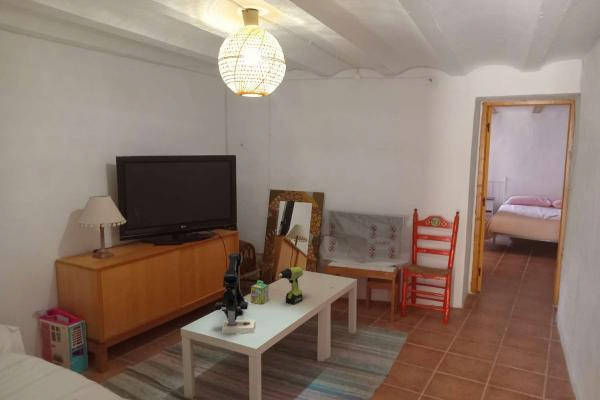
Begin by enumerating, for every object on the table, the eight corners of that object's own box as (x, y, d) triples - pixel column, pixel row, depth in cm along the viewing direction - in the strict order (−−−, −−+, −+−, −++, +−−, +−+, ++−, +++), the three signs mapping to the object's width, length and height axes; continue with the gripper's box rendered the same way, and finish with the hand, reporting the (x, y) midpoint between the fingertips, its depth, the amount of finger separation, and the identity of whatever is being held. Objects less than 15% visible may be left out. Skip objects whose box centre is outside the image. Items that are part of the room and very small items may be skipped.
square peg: (229, 322, 260) (228, 309, 259) (236, 322, 260) (235, 309, 259) (228, 325, 256) (227, 312, 255) (235, 325, 256) (234, 312, 255)
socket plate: (225, 325, 265) (225, 320, 264) (255, 324, 265) (255, 319, 265) (222, 333, 253) (222, 328, 252) (253, 332, 253) (253, 327, 253)
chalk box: (250, 302, 302) (250, 282, 300) (258, 298, 310) (257, 278, 308) (262, 304, 297) (261, 283, 296) (269, 300, 306) (268, 280, 304)
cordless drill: (283, 309, 288) (282, 272, 285) (275, 307, 292) (274, 271, 289) (304, 299, 306) (304, 264, 303) (296, 297, 310) (296, 263, 307)
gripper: (212, 299, 248) (213, 325, 250) (245, 298, 248) (246, 325, 250) (216, 292, 259) (217, 318, 261) (247, 292, 259) (248, 317, 261)
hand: (232, 319), depth 258 cm, fingers closed on square peg, 4 cm apart
